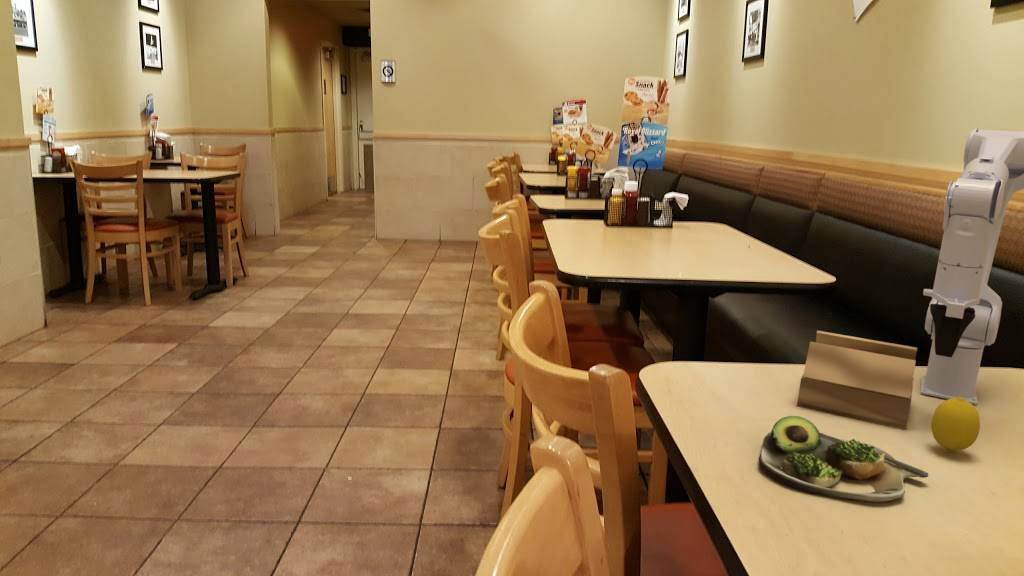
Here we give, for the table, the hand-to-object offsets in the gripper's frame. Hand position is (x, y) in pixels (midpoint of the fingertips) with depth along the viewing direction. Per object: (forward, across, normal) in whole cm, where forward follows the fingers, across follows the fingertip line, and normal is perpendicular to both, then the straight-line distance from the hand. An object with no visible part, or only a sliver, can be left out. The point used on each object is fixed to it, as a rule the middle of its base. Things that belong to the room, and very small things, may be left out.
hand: (943, 355), depth 108 cm
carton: (+10, 0, -11) cm, 15 cm away
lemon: (+11, +11, +2) cm, 15 cm away
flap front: (+3, +5, -11) cm, 12 cm away
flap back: (+3, -5, -11) cm, 12 cm away
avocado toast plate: (+11, +26, -12) cm, 30 cm away
